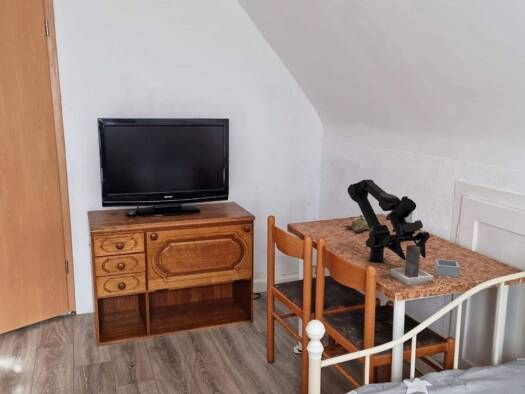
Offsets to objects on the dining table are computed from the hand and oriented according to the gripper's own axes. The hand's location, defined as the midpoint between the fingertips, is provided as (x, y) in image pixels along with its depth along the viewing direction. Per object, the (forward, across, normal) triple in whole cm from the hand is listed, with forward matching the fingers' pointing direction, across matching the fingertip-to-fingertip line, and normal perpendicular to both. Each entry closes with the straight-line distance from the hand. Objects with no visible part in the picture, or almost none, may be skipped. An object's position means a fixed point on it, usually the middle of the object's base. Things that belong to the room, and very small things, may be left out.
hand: (415, 258), depth 192 cm
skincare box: (-35, +39, +48) cm, 71 cm away
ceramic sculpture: (-44, +20, +56) cm, 74 cm away
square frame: (+4, +18, +8) cm, 20 cm away
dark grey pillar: (+4, 0, +6) cm, 8 cm away
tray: (+5, 0, +7) cm, 9 cm away
